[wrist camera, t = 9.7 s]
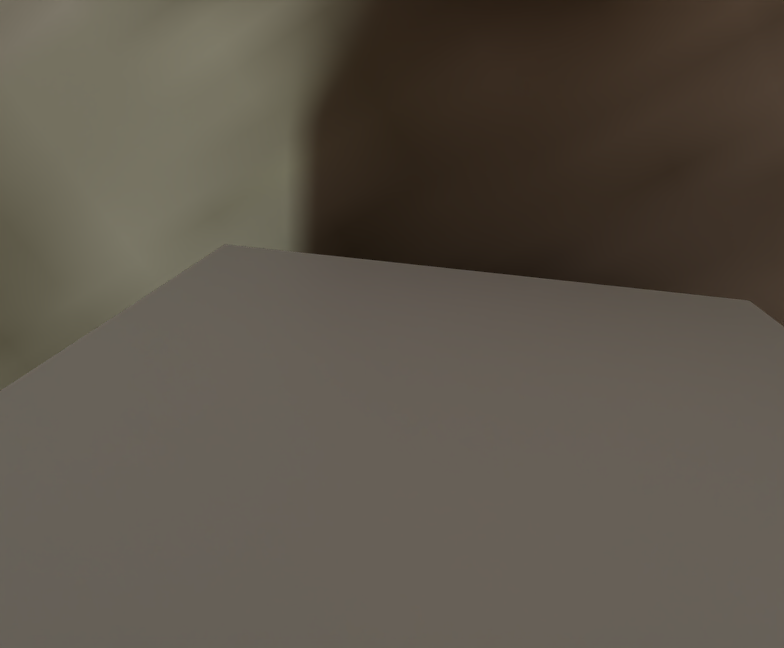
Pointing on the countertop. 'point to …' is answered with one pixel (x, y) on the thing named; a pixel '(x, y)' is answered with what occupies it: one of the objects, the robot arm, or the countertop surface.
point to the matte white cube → (397, 465)
